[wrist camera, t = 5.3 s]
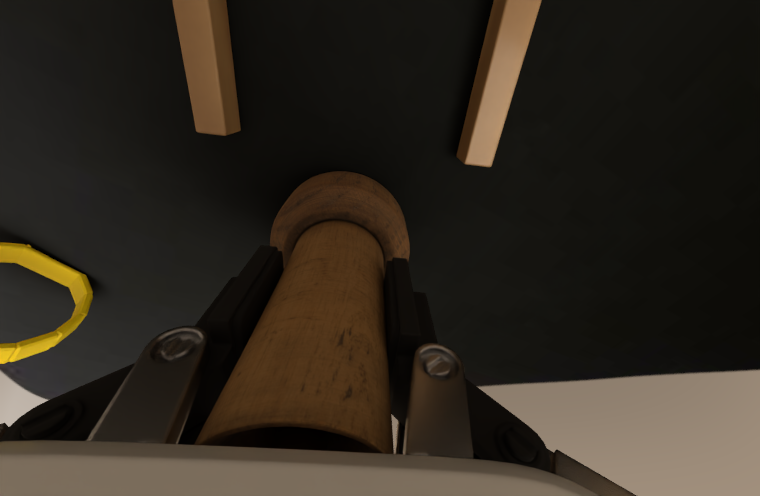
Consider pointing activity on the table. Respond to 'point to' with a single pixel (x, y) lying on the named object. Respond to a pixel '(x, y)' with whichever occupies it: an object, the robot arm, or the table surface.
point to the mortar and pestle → (320, 328)
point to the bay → (486, 106)
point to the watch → (58, 273)
